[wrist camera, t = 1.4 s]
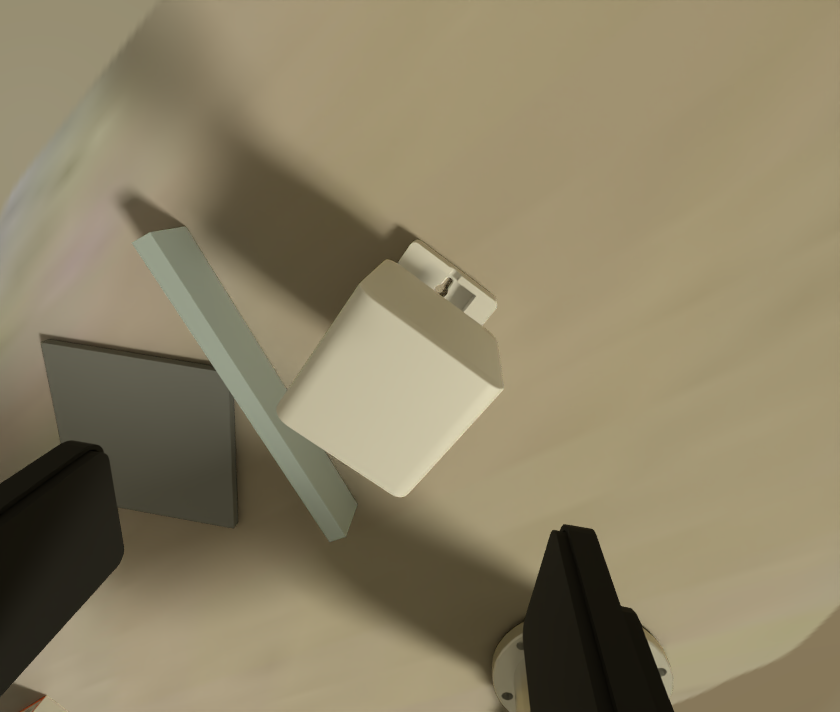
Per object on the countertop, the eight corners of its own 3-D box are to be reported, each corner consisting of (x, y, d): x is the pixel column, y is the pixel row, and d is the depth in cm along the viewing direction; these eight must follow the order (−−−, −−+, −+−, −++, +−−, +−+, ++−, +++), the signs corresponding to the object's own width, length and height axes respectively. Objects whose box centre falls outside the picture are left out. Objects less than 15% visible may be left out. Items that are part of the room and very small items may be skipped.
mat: (237, 522, 32) (233, 528, 32) (78, 493, 33) (71, 498, 33) (232, 369, 28) (228, 373, 27) (49, 339, 29) (40, 342, 28)
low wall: (357, 504, 31) (345, 536, 28) (342, 509, 31) (329, 542, 28) (185, 226, 25) (149, 232, 22) (169, 235, 25) (131, 242, 23)
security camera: (340, 332, 26) (268, 415, 17) (409, 231, 24) (369, 265, 15) (428, 394, 27) (404, 505, 18) (504, 303, 25) (522, 378, 15)
